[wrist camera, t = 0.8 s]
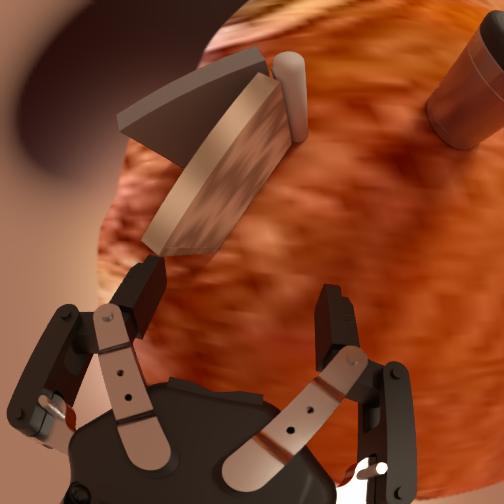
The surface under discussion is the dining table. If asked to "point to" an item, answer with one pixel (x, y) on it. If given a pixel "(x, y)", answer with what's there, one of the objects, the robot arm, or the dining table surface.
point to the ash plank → (223, 174)
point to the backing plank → (211, 103)
